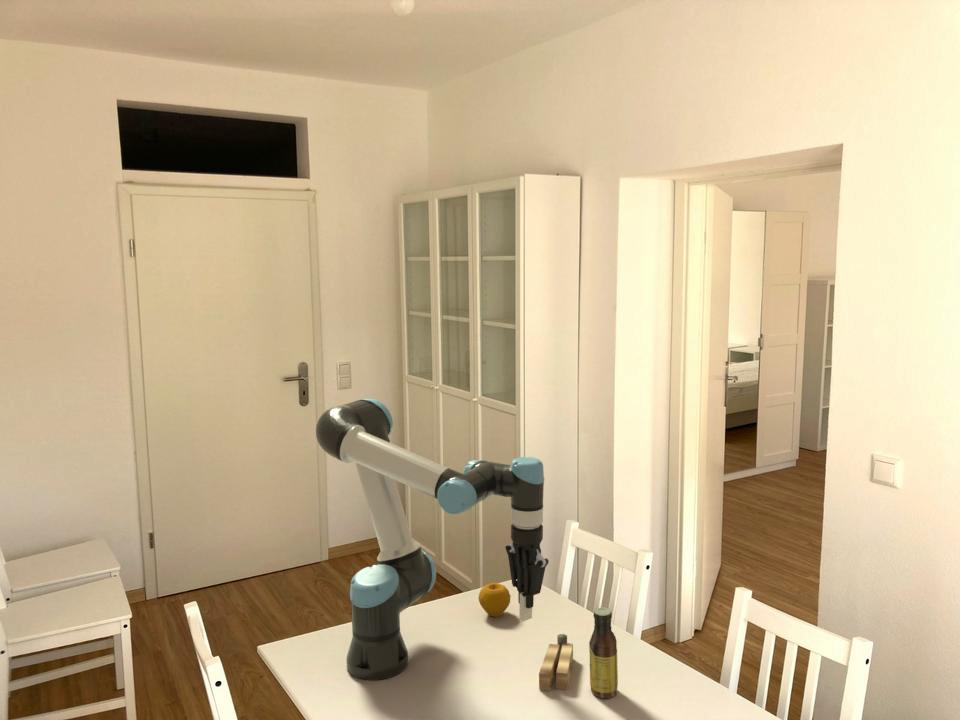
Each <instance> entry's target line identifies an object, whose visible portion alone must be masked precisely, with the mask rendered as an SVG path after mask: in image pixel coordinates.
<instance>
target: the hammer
mask: <svg viewBox="0 0 960 720" xmlns="http://www.w3.org/2000/svg"><path fill="white" fill-rule="evenodd" d="M556 636H557V639H556V641H557V644H556V645H560V658H559V663H558V667H557V670H556V673H555V676H556V678H555V679H556V683H555V684H556V685H555V686H556V689H557V690H565V691H566V690H568V688H569V683H570V677H571V672H572V666H573V662H574V661H573V660H574V644H573V643H569V642H568V635H567V634H565V633H559V634H558V635H556Z"/></svg>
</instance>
